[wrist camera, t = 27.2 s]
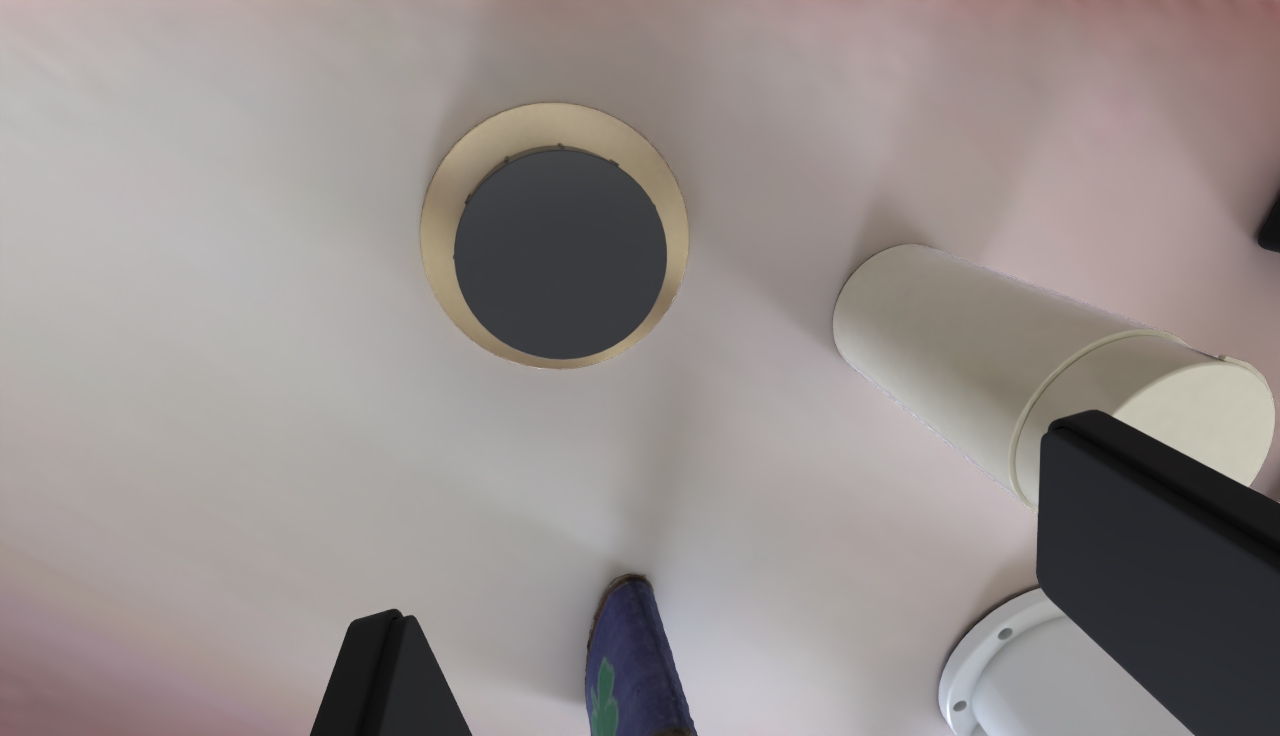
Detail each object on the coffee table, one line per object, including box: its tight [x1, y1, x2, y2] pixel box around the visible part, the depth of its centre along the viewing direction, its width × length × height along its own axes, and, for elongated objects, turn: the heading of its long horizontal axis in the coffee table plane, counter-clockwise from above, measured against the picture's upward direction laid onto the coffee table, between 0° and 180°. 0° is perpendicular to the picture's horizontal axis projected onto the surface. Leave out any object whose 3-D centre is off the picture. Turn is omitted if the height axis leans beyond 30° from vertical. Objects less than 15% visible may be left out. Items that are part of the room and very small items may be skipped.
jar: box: [833, 244, 1275, 514], centre depth 22 cm, size 6×6×13 cm
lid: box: [453, 143, 667, 360], centre depth 23 cm, size 7×7×2 cm
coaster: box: [420, 102, 689, 369], centre depth 24 cm, size 10×10×1 cm
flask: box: [585, 574, 698, 736], centre depth 28 cm, size 9×3×11 cm, turn 169°
